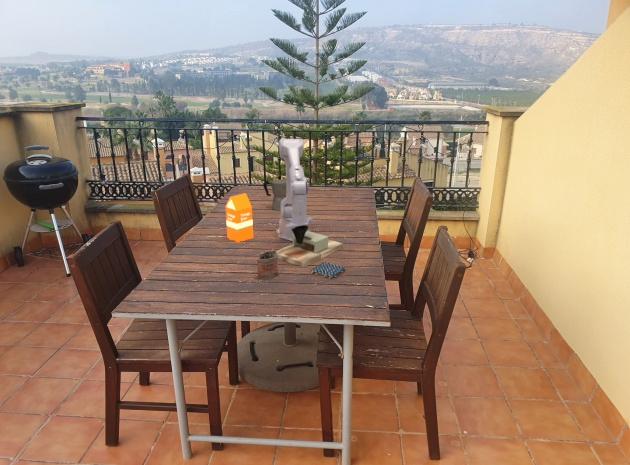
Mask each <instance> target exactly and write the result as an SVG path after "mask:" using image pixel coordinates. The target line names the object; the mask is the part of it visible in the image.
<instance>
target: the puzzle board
mask: <svg viewBox="0 0 630 465" xmlns="http://www.w3.org/2000/svg"><path fill="white" fill-rule="evenodd" d="M343 248H344V243H342V242H338V241H335V240H331V239H328V248H326V249H323V250H321V251H319V252H317V253H314V250H313V251H309V250H306V249H303V243H302V244H298V245H296V246H293V243H292V244H290V245H288V246H285V247H282V248H281V249H278V250H276V253H275V254H273V255H278V260H280V261H283V262H286V263H289V264H291V265H295V266H298V267H301V268H305V267H307V266H308V265H311V264H313V263H315V262H317V261H319V260H321V259H323V258H325V257H327V256H330V255H331V254H333V253H336V252H337V251H340V250H341V249H343Z"/></svg>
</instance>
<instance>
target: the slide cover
mask: <svg viewBox="0 0 630 465" xmlns="http://www.w3.org/2000/svg"><path fill="white" fill-rule="evenodd" d="M328 240H329V236H327V235H323V234H320V233H316V232H312V231H309V230H307V231H306V233H305V236H304V239H303V242H305V243H309V244H312V245H314V253H317V252H319V251H321V250H323V249H326V248H328ZM292 244H293V246H296V245H298V243H297V242H296V238H295V235H293V241H292Z"/></svg>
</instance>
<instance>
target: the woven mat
mask: <svg viewBox="0 0 630 465" xmlns="http://www.w3.org/2000/svg"><path fill="white" fill-rule="evenodd" d="M346 271H347V268H346V266H343V265H338V264H334V263H330V262H327V261H322V262H321V263H319V264H317V265H316V266H314V267H312V269H310V271H309V272H310V274H311V275H316V276H318V277H321V278H326V279H329V280H332V281H333V280H335V279H337V278H338V277H339V276H340V275H342V274H344V273H345V272H346Z"/></svg>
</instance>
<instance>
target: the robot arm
mask: <svg viewBox="0 0 630 465" xmlns="http://www.w3.org/2000/svg"><path fill="white" fill-rule="evenodd" d="M304 146H305V145H304V140H303V139H302V138H290V139H289V138H286V139H285V138H280V139H279V141H278V150H279V159H283V160H284V163H285V180H286V191H287V193H286V198H284V199H283V200H282V201H281V211H280V219H279V221H278V235H277V237H278V238H280V239H283V240H286V241H290V242H293V235H295V238H296V242H297V243H298V244H302V243H303V239H304V236H305V233H306V231H308V229H309V226H308V225H309V223H313V222H314V217H312V216H308V215H307V213H308V212H307V209H308V208H307V200H308V199H307V197H308V194H309V183H308V180H307V178H306V176H305V172H304V168H303V166H301V165H300V164H301V163H300V158H301V157H302V156H303V153H304V149H305V147H304ZM286 204H287V205H286Z"/></svg>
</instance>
